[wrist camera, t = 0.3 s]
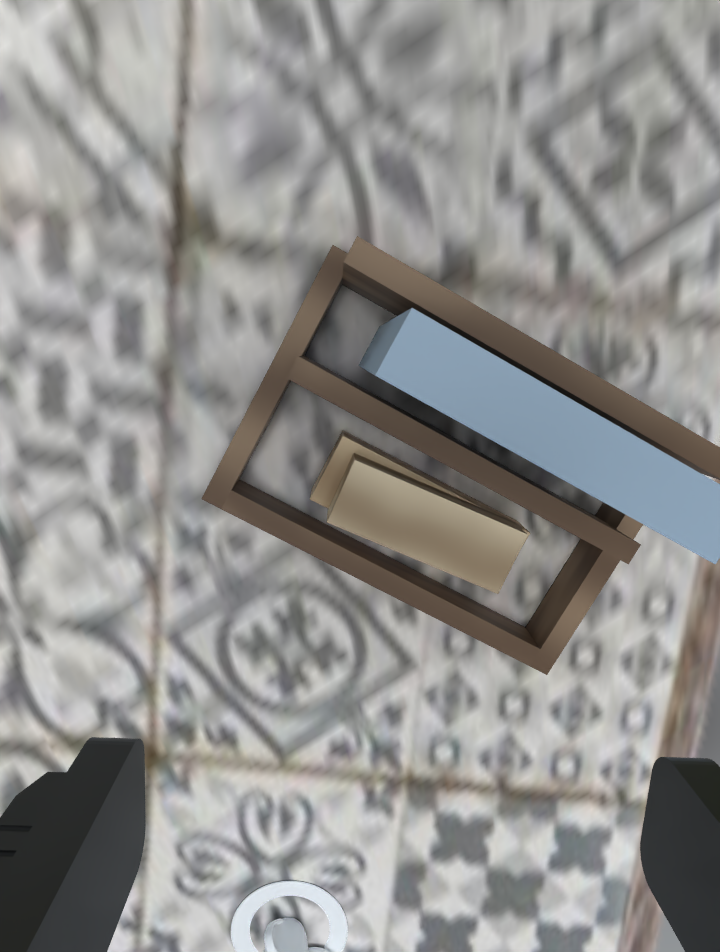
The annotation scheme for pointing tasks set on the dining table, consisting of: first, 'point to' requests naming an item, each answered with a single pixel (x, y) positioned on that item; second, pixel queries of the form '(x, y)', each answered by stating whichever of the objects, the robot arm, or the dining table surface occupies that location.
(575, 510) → the rack
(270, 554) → the dining table surface
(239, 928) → the teacup and saucer
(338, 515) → the upper offcut
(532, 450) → the tall panel
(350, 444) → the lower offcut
